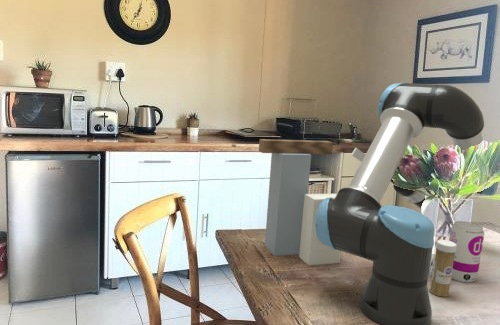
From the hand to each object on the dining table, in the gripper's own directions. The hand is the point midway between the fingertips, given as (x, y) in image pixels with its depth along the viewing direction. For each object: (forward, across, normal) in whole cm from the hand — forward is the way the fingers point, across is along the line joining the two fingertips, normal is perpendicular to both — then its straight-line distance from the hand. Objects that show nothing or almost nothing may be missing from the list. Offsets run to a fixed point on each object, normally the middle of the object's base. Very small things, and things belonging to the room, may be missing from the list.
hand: (365, 154), depth 132 cm
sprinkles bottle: (-17, -34, -25) cm, 45 cm away
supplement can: (-29, -27, -18) cm, 44 cm away
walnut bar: (+21, 0, -12) cm, 24 cm away
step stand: (+4, -4, -36) cm, 37 cm away
